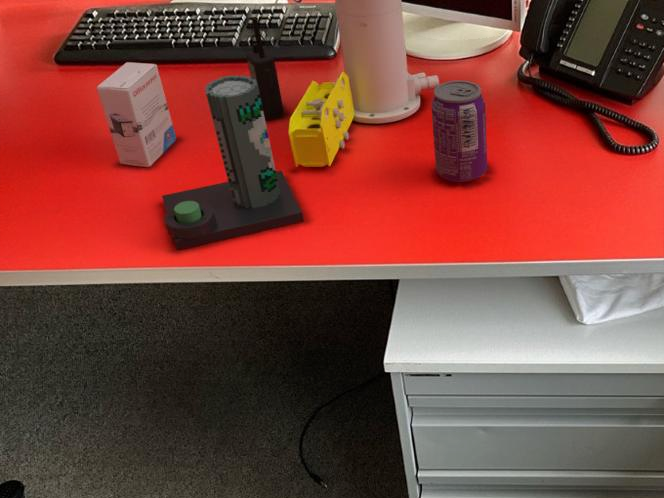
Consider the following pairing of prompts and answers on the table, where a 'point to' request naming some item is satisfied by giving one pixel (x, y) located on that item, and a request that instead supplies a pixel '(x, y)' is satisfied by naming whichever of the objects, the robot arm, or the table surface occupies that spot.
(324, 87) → the yellow toy chassis
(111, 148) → the table surface
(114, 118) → the ink box
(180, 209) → the button
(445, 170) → the beverage can
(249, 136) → the can
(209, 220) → the scale
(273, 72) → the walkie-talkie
